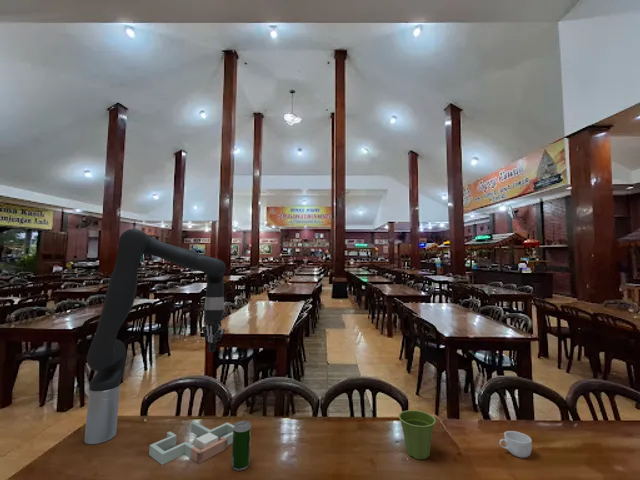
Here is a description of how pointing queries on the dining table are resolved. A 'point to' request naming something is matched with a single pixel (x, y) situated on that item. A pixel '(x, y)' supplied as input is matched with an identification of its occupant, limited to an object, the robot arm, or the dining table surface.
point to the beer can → (241, 445)
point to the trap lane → (167, 452)
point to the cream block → (206, 440)
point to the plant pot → (417, 432)
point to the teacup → (517, 443)
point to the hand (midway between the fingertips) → (212, 351)
